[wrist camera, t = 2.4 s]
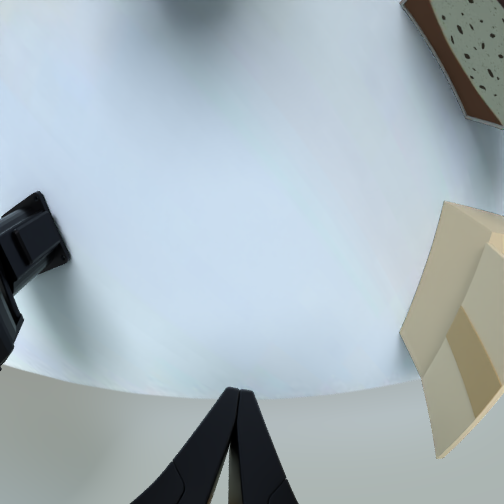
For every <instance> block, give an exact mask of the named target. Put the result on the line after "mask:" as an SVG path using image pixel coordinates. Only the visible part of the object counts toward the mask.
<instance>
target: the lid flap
mask: <svg viewBox="0 0 504 504" xmlns="http://www.w3.org/2000/svg"><path fill="white" fill-rule="evenodd" d="M421 381H422V385H423V389H424V393H425V398H426V403H427V407H428V413H429V418H430V423H431V428H432V434H433V440H434V446H435V453H436V459H440V458H444V457H445V456H446V455H447V454H448V453H449V452H450V451H451V450H452V449H453V448H454V447H455V446H456V445H457V444H459V442H461V441H462V440H463V439H464V438H465V437H466V435H468V433H469V432H470V431H471V430H472V429H473V428H474V427H475V426H476V425H477V424H478V423H479V422H480V421H481V419H482V418H483V417H484V416H485V415H486V414H487V413H488V411H489V410H490V409H491V408H492V407H493V405H494V404H495V403H496V402H497V401H498V399H499V398H500V397H501V396H502V394H503V393H504V255H503V254H502V253H501V252H500V251H499V250H498V249H497V248H496V247H495V246H494V245H493V244H490V243H486V244H485V247H484V250H483V253H482V256H481V259H480V261H479V264H478V267H477V270H476V272H475V275H474V277H473V280H472V282H471V285H470V287H469V290H468V292H467V294H466V297H465V299H464V301H463V303H462V306H461V305H460V308H459V310H458V312H457V314H456V316H455V318H454V320H453V322H452V324H451V326H450V328H449V330H448V332H447V334H446V338H445V340H444V342H443V344H442V346H441V348H440V349H439V351H438V353H437V355H436V356H435V358H434V360H433V362H432V363H431V365H430V367H429V368H428V370H427V372H426V373H425V375H424V377H423V378H422V380H421Z"/></svg>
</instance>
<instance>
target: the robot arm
mask: <svg viewBox="0 0 504 504" xmlns="http://www.w3.org/2000/svg"><path fill="white" fill-rule="evenodd" d="M37 197H38V199H37ZM64 257H65V258H64ZM69 260H70V255H69V253H68V251H67V249H66V247H65V245H64V243H63V241H62V239H61V237H60V234H59V232H58V230H57V228H56V226H55V224H54V221H53V219H52V217H51V215H50V212H49V210H48V208H47V205H46V203H45V200H44V198H43V196H42V194H41V192H40V191H37V192H34V193H33V194H31V195H30V196H28V197H27V198H26V199H24V200H23V201H21V202H20V203H19V204H17V205H16V206H15V207H13V208H12V209H11V210H9V211H8V212H7V213H5V214H4V215H3V216H2V217H1V219H0V366H1V365H2V364H3V363H4V362H5V361H6V360H7V358H8V356H9V355H10V354H11V352H12V351H13V349H14V342H15V340H16V337H17V335H18V333H19V331H20V328H21V326H22V324H23V322H24V319H23V316H22V314H21V313H20V312H19V309H18V307H17V304H16V302H15V299H14V296H15V295H16V294H17V293H18V292H19V291H20V290H21V289H22V288H23V287H24V286H25V285H26V284H27V283H28V282H30V281H31V280H32V279H33V278H34V277H35V276H36V275H38V274H40V273H43V272H45V271H48V270H50V269H53V268H55V267H58V266H60V265H63V264H65V263H67V262H68V261H69ZM1 369H2V368H1V367H0V371H1ZM229 445H230V449H229ZM228 449H229V493H228V504H298V502H297V500H296V498H295V496H294V494H293V491H292V489H291V487H290V485H289V482H288V480H287V479H286V475H285V473H284V470H283V468H282V465H281V463H280V460H279V458H278V455H277V453H276V450H275V448H274V445H273V443H272V440H271V437H270V435H269V432H268V430H267V427H266V424H265V422H264V419H263V417H262V414H261V411H260V408H259V406H258V403H257V400H256V397H255V395H254V392H253V391H251V390H245V389H241V390H239V389H238V388H233V387H227V388H226V389H225V390H224V392H223V393H222V395H221V396H220V397H219V399H218V400H217V402H216V403H215V404H214V406H213V407H212V408H211V410H210V411H209V413H208V414H207V415H206V417H205V418H204V419H203V421H202V422H201V423H200V425H199V426H198V427H197V429H196V430H195V431H194V433H193V434H192V436H191V437H190V438H189V439H188V441H187V442H186V443H185V445H184V446H183V447H182V449H181V450H180V451H179V453H178V454H177V455H176V456H175V458H174V459H173V462H171V463H170V464H169V465H168V466H167V468H166V469H165V470H164V471H163V472H162V474H161V475H160V476H159V477H158V478H157V479H156V480H155V481H154V483H152V484H151V485H150V486H149V488H147V489H146V490H145V491H144V492H143V493H142V494H141V495H140V496H138V497H137V498H136V499H135V500H134V501H133V502H131V503H130V504H210V503H211V499H212V497H213V494H214V491H215V488H216V486H217V483H218V480H219V477H220V474H221V471H222V468H223V465H224V462H225V458H226V455H227V452H228Z"/></svg>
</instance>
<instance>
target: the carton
mask: <svg viewBox="0 0 504 504" xmlns="http://www.w3.org/2000/svg"><path fill="white" fill-rule="evenodd" d="M486 243H490V244H493V245H494V246H495V247H496V248H497V249H498V250H499V251H500V252H501V253H502V254H503V255H504V216H501V215H498V214H494V213H491V212H487V211H483V210H480V209H476V208H472V207H468V206H464V205H460V204H456V203H452V202H447V201H444V204H443V208H442V212H441V216H440V219H439V223H438V227H437V230H436V234H435V237H434V241H433V244H432V247H431V250H430V254H429V257H428V260H427V263H426V266H425V269H424V272H423V274H422V277H421V280H420V283H419V286H418V288H417V291H416V294H415V296H414V299H413V301H412V304H411V306H410V309H409V311H408V314H407V316H406V319H405V321H404V323H403V326H402V328H401V330H400V332H399V333H400V335H401V337H402V339H403V341H404V343H405V345H406V347H407V349H408V351H409V353H410V355H411V358H412V360H413V362H414V364H415V366H416V368H417V371H418V373H419V375H420V377H421V379H422V378H423V377H424V375H425V373H426V372H427V370H428V368H429V367H430V365H431V363H432V362H433V360H434V358H435V356H436V355H437V353H438V351H439V349H440V348H441V346H442V344H443V342H444V340H445V338H446V334H447V332H448V330H449V328H450V326H451V324H452V322H453V320H454V318H455V316H456V314H457V312H458V310H459V308H460V305H461V306H462V303H463V301H464V299H465V297H466V294H467V292H468V290H469V287H470V285H471V282H472V280H473V277H474V275H475V272H476V270H477V267H478V264H479V261H480V259H481V256H482V253H483V250H484V247H485V244H486Z"/></svg>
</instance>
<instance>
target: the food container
mask: <svg viewBox="0 0 504 504" xmlns="http://www.w3.org/2000/svg"><path fill="white" fill-rule="evenodd" d="M399 4H400V5H401V6H402V8H403V9H404V10H405V12H406V13H407V14H408V16H409V17H410V19H411V20H412V21H413V23H414V24H415V26H416V27H417V29H418V30H419V32H420V33H421V35H422V37H423V38H424V40H425V41H426V43H427V45H428V46H429V48H430V49H431V51H432V53H433V55H434V56H435V58H436V60H437V62H438V63H439V65H440V67H441V69H442V71H443V72H444V74H445V76H446V78H447V80H448V82H449V84H450V86H451V88H452V90H453V92H454V94H455V96H456V98H457V101H458V103H459V105H460V107H461V109H462V112H463V114H464V116H465V119H469V120H473V121H476V122H480V123H483V124H486V125H489V126H493V127H496V128H499V129H502V130H504V0H402V1H401V2H400V3H399Z"/></svg>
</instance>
